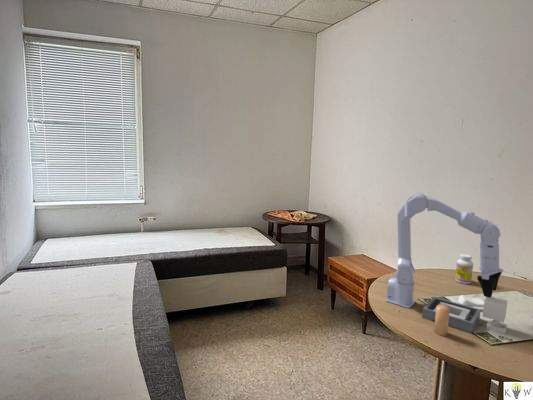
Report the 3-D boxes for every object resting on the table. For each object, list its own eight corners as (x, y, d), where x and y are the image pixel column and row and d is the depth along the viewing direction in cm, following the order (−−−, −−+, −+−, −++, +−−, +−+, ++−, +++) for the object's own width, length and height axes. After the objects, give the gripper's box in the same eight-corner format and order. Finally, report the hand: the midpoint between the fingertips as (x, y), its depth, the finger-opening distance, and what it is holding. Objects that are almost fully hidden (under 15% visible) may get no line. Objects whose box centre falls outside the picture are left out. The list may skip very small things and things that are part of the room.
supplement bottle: (451, 279, 165) (454, 253, 163) (462, 278, 167) (465, 252, 165) (463, 285, 159) (466, 258, 157) (474, 283, 161) (477, 257, 159)
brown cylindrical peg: (432, 332, 116) (434, 307, 115) (435, 328, 119) (438, 303, 118) (445, 337, 114) (448, 311, 112) (448, 332, 117) (451, 307, 115)
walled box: (422, 317, 127) (423, 308, 126) (433, 305, 137) (434, 296, 137) (471, 333, 116) (473, 323, 116) (479, 318, 127) (480, 309, 126)
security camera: (483, 320, 125) (486, 294, 124) (507, 327, 121) (510, 300, 119) (481, 327, 120) (484, 300, 119) (505, 334, 116) (508, 306, 115)
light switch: (449, 291, 145) (483, 292, 142) (448, 300, 145) (482, 302, 143) (458, 302, 134) (494, 303, 131) (457, 312, 135) (494, 314, 132)
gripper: (498, 263, 116) (499, 302, 117) (506, 253, 126) (507, 289, 127) (474, 260, 121) (475, 297, 122) (484, 250, 131) (485, 285, 132)
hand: (490, 293), depth 125 cm, fingers open, 7 cm apart
